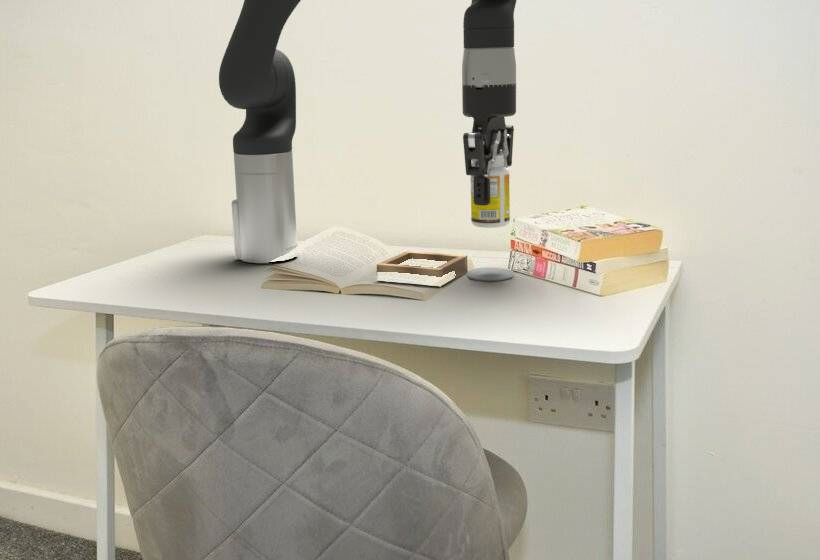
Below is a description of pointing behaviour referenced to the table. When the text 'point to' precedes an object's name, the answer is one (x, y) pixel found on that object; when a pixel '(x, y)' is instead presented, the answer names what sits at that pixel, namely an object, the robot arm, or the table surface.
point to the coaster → (490, 274)
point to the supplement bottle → (493, 198)
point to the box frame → (453, 264)
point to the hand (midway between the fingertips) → (489, 201)
